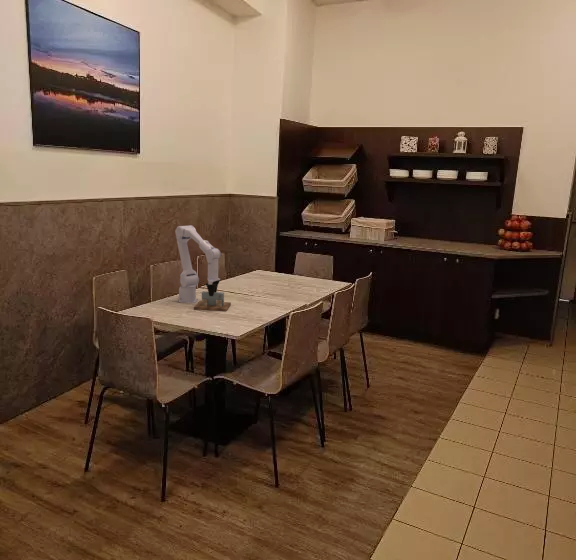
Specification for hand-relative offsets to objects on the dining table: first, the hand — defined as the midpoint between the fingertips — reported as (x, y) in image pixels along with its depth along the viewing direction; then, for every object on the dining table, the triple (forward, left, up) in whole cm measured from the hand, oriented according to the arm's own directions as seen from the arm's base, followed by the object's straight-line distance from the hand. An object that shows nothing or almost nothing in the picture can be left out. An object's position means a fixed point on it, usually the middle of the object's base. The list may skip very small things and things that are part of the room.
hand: (212, 294), depth 282 cm
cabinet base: (0, 0, -7) cm, 7 cm away
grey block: (0, 0, -6) cm, 6 cm away
